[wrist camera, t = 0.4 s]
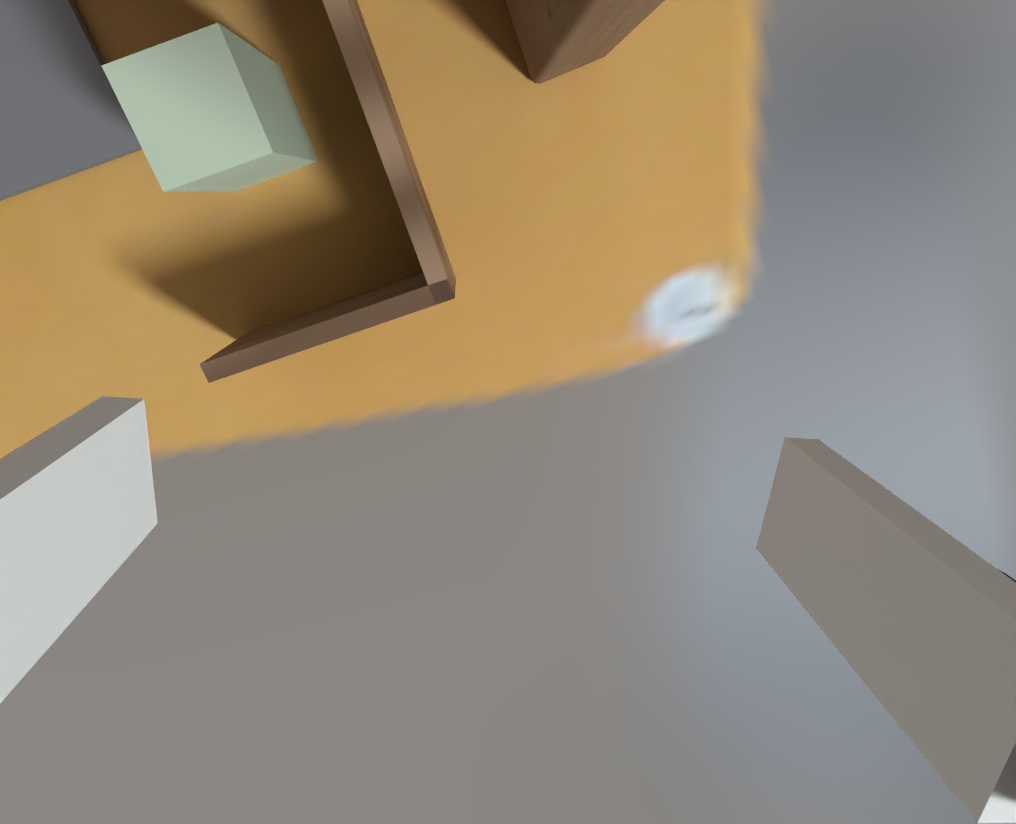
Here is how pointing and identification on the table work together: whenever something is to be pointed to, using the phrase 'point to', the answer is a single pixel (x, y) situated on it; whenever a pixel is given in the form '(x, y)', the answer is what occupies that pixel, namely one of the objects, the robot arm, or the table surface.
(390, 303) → the cubby
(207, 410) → the table surface
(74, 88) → the mat
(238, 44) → the block
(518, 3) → the wooden block
